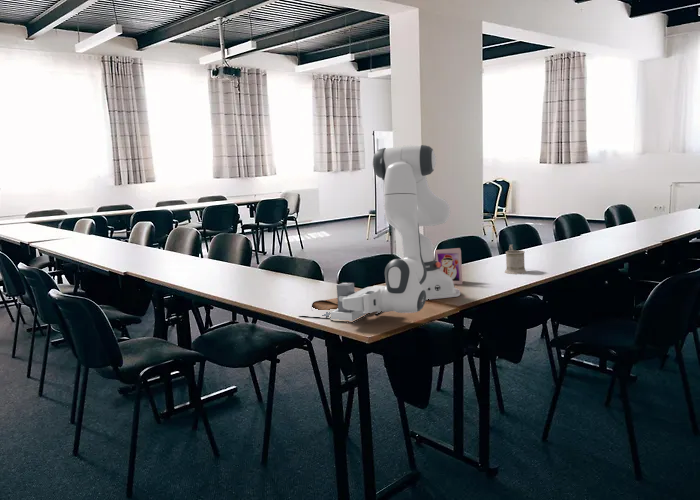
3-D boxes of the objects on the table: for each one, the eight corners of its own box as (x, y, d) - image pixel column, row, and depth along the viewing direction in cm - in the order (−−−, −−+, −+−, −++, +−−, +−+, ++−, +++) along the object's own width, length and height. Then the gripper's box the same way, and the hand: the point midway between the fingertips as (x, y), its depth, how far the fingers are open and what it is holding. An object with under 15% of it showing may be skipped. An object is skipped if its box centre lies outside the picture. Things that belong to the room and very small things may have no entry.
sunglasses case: (321, 314, 209) (316, 297, 211) (314, 320, 215) (310, 304, 217) (363, 306, 217) (358, 290, 220) (356, 312, 223) (351, 296, 225)
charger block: (344, 310, 203) (342, 282, 202) (355, 310, 201) (353, 282, 200) (338, 313, 200) (336, 284, 198) (349, 313, 197) (347, 285, 196)
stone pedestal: (529, 273, 260) (528, 247, 258) (507, 274, 260) (506, 248, 258) (520, 268, 274) (519, 243, 272) (500, 269, 274) (499, 244, 273)
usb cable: (383, 310, 209) (383, 308, 209) (385, 310, 209) (385, 308, 209) (374, 315, 202) (374, 313, 202) (376, 315, 202) (376, 313, 202)
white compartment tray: (358, 306, 217) (357, 298, 217) (379, 308, 213) (378, 299, 212) (330, 321, 199) (329, 312, 199) (352, 322, 195) (352, 313, 194)
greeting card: (436, 283, 250) (434, 250, 248) (441, 280, 257) (439, 247, 255) (461, 284, 245) (460, 250, 243) (466, 281, 252) (464, 247, 250)
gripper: (391, 283, 202) (357, 281, 209) (365, 295, 184) (328, 293, 191) (392, 300, 203) (358, 298, 209) (366, 314, 185) (330, 312, 192)
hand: (343, 296), depth 200 cm, fingers closed on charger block, 4 cm apart
